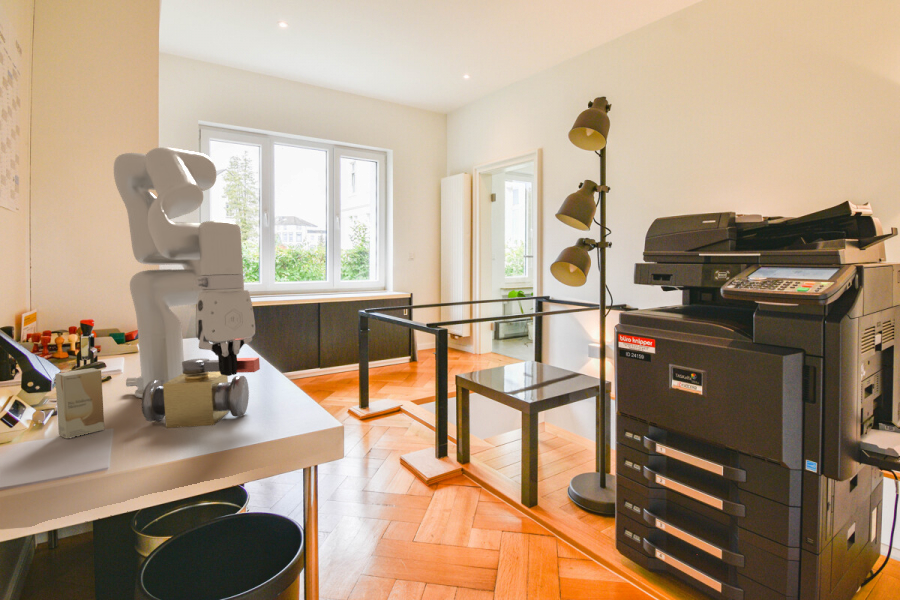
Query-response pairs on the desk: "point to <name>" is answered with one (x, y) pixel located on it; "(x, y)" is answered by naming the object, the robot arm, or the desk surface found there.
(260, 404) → the desk surface
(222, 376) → the valve
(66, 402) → the skincare box
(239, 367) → the lever
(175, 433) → the desk surface
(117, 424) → the desk surface
